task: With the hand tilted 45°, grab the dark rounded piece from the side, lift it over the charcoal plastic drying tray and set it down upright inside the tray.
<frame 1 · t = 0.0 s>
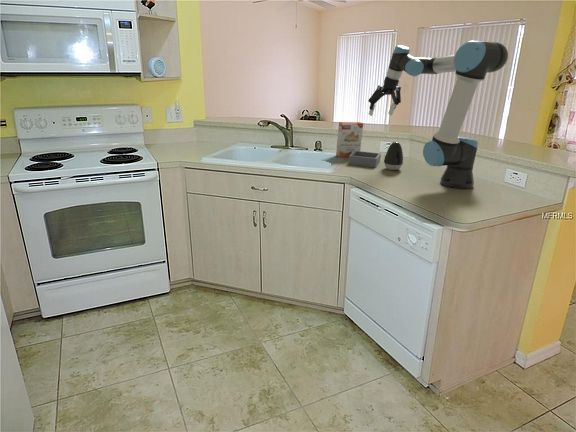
hand: (380, 114, 218), 28 cm above the worktop, tool tilted 20°, fingers open, 13 cm apart
cracker box: (347, 156, 245), on the worktop
dark rounded piece: (392, 169, 217), on the worktop
drying tray: (364, 162, 229), on the worktop
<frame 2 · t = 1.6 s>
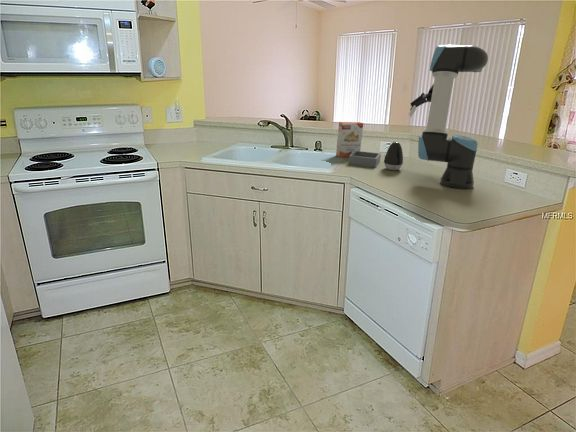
hand: (420, 117, 223), 27 cm above the worktop, tool tilted 45°, fingers open, 13 cm apart
nothing on the worktop moved.
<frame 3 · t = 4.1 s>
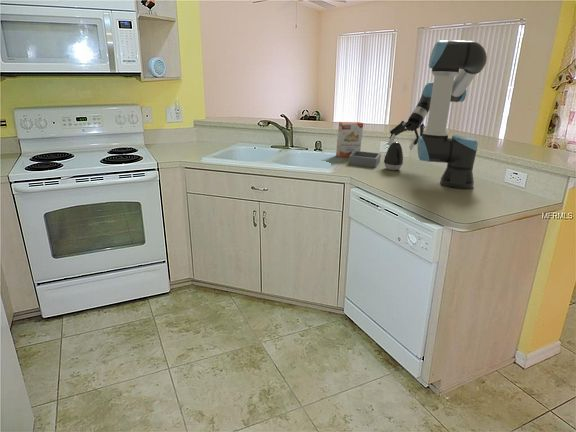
hand: (399, 146, 217), 12 cm above the worktop, tool tilted 45°, fingers open, 13 cm apart
nothing on the worktop moved.
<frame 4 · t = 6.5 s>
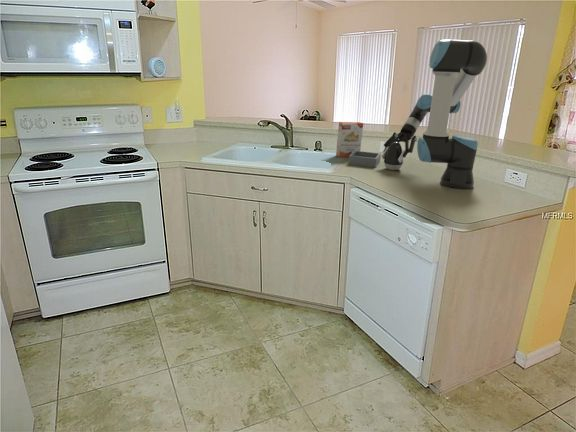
hand: (390, 159, 213), 6 cm above the worktop, tool tilted 45°, fingers closed on dark rounded piece, 10 cm apart
dark rounded piece: (392, 169, 217), on the worktop, touching gripper
everything else where it was.
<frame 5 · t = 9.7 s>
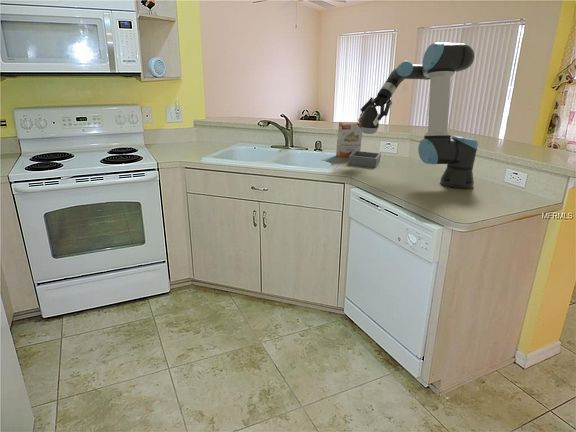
hand: (366, 122, 218), 23 cm above the worktop, tool tilted 45°, fingers closed on dark rounded piece, 10 cm apart
dark rounded piece: (368, 133, 223), point 17 cm above the worktop, touching gripper
everything else where it was.
when the fingers open (8 cm above the worktop, at t = 13.1 s): dark rounded piece drops 1 cm, resting on drying tray.
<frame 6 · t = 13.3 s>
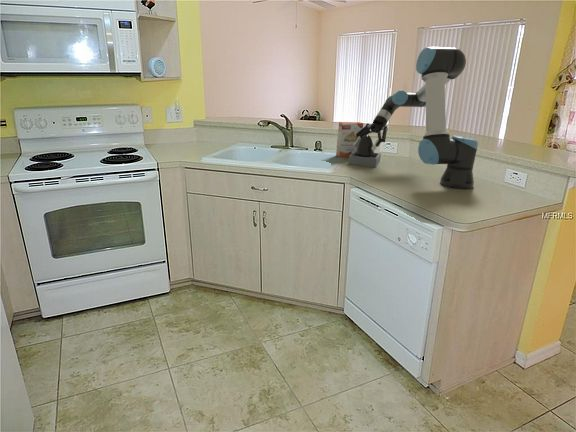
hand: (363, 148, 224), 9 cm above the worktop, tool tilted 45°, fingers open, 12 cm apart
dark rounded piece: (364, 161, 229), point 1 cm above the worktop, touching drying tray
everything else where it was.
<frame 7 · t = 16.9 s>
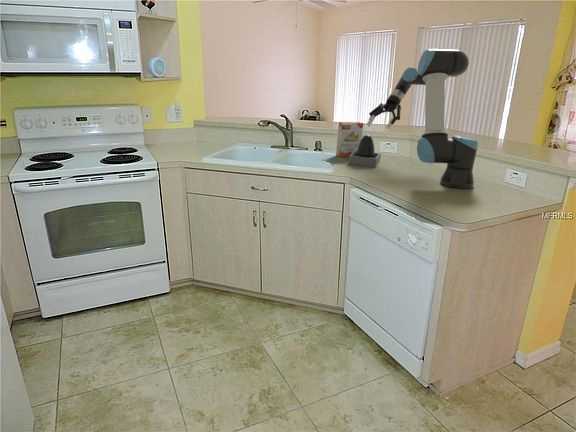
hand: (377, 126, 228), 20 cm above the worktop, tool tilted 45°, fingers open, 13 cm apart
nothing on the worktop moved.
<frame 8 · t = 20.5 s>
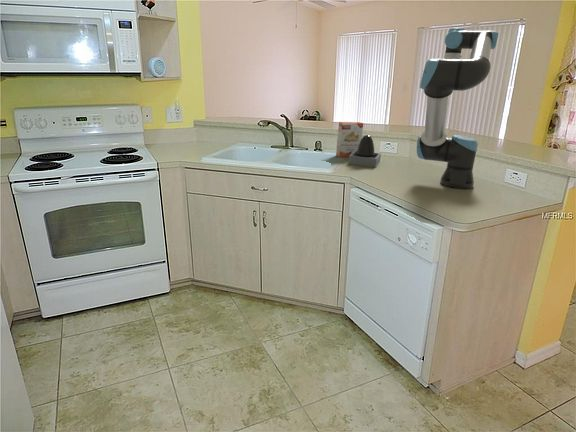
hand: (443, 106, 203), 35 cm above the worktop, tool pointing down, fingers open, 13 cm apart
nothing on the worktop moved.
at the end: dark rounded piece inside the target area on the drying tray (0.1 cm from its centre), point 0.8 cm above the drying tray's base; dark rounded piece tilted 0°; the gripper is holding nothing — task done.
